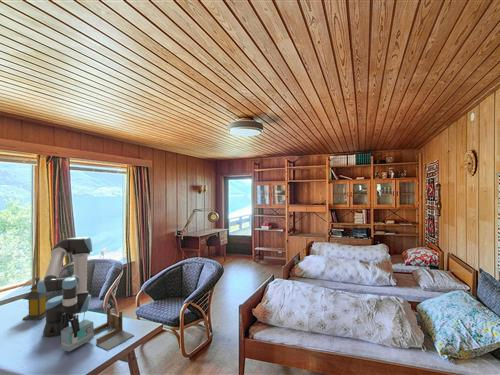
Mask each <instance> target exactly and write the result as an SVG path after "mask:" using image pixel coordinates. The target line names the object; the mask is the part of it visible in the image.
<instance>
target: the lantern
mask: <svg viewBox="0 0 500 375" xmlns="http://www.w3.org/2000/svg"><path fill="white" fill-rule="evenodd" d="M34 280H35V284H34V285H33V286H32V287H31V288H30V292H29V293H28V294H27V295H26V296H25V297H23V298H22V299H23V300H28V301H27V302H28V314H27V315H25V316H24V317H23V318H22V321H41V320H43V319H44V318H46V309H45V308H46V302H47V301H48V300H47V298H48V297H47V296H48V295H50V294H52V292H46V293H38V291H37V284H38V282H39V281H40V277H39V276H36V277H35V278H34Z"/></svg>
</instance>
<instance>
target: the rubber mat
mask: <svg viewBox="0 0 500 375" xmlns="http://www.w3.org/2000/svg"><path fill="white" fill-rule="evenodd" d="M133 337H135V335H134V334H133V333H129V332H127V331H125V330H122V331H120V332H118V333H117V334H115V335H113V336H111V337H109V338H107V339H105V340H103V341H102V342H100V343H98V344H97V343H96V344H95V346H96V347H98V348H101V349H103V350H104V351H106V352H109V351H110V350H112V349H114V348H116V347H118V346H119V345H121V344H122V342H123V343H125V342H126V341H127V340H129V339H131V338H133ZM115 346H116V347H115ZM108 350H109V351H108Z"/></svg>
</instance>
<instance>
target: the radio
mask: <svg viewBox="0 0 500 375" xmlns="http://www.w3.org/2000/svg"><path fill="white" fill-rule="evenodd" d="M85 314H86V312H85V310H84V312H83V317H85ZM79 327H80V331H78V332H77V342H75V343H72V332H73V330H72V326H71V325H69V327H68V328H66V329H64V330H62V331H61V335H60V340H61V341H60V342H61V350H64V351H66V352H72V351H74V350H75V349H77V348H79V347H81V346H82V345H84V344H86V343H88V342H91V341H92V340H93V339H94V336H95V334H94V328H95V327H94V321H92V320H90V319H89V320H88V319H85V318H83V319H82V320H81V321H79Z"/></svg>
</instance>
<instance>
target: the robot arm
mask: <svg viewBox="0 0 500 375" xmlns="http://www.w3.org/2000/svg"><path fill="white" fill-rule="evenodd" d="M92 252H93V244H92V239H91V237H90V236H82V237H81V236H78V237H65V238H63V239H61V240H60V241H58V242H57V243H56V244H55V245H54V246H53V247H52V249H51V251H50V255H51V256H50V260H49V262H48V266H47V269H46V272H45V275H44V278H43V279H42V280H38V284H37V291H38V293H46V292H58V291H61V292H62V295H57V296H54V297H52V298H50V299H48V300H47V302H46V308H45V309H46V317H45V325H44V327H43V330H42V335H43V337H45V338H52V337H53V338H54V337H58V336H61V331H62V330H64V329H66V328H68V327H70V326H72V330H73V332H72V343H75V342H77V332H78V331H80V327H79V322H80V320H79V316H80V315H79V314H84V310H85V313H87V312H88V311H89V309H90V306H91V300H92V294H90V293H89V291H88V289H87V286H88V285H87V282H88V257H89V256H90V255H91V253H92ZM67 255H71V256H72V257H73V273H72V275H70V276H68V277H67V276H66V277H61V278H59V276H60V273H61V269H62V266H63V262H64V260H65V259H64V258H65V257H67Z"/></svg>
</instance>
